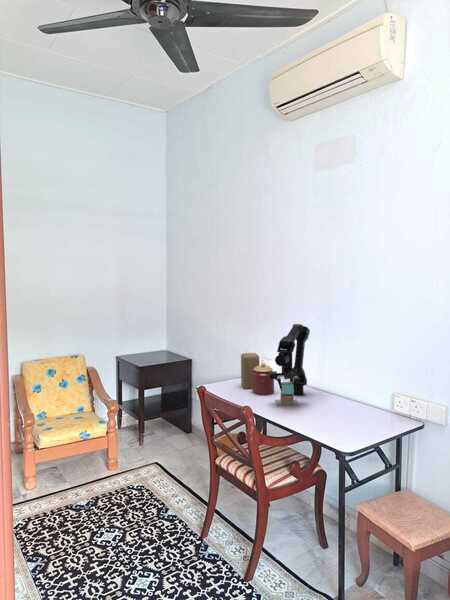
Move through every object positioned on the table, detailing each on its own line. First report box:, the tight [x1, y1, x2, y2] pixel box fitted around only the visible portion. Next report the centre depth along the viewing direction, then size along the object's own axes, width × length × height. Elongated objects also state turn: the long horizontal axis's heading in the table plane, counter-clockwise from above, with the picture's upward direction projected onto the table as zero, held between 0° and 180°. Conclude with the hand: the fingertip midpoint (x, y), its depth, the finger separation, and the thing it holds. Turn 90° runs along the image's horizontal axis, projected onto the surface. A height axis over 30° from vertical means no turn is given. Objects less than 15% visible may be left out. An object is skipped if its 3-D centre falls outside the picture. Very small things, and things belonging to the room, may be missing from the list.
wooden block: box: [240, 352, 260, 390], centre depth 269 cm, size 10×10×20 cm
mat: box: [274, 399, 301, 408], centre depth 236 cm, size 12×12×1 cm
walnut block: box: [280, 392, 294, 405], centre depth 236 cm, size 6×6×5 cm
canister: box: [251, 362, 275, 396], centre depth 257 cm, size 13×13×18 cm
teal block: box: [280, 381, 294, 394], centre depth 236 cm, size 6×6×5 cm
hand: (287, 390), depth 236 cm, fingers closed on teal block, 6 cm apart
